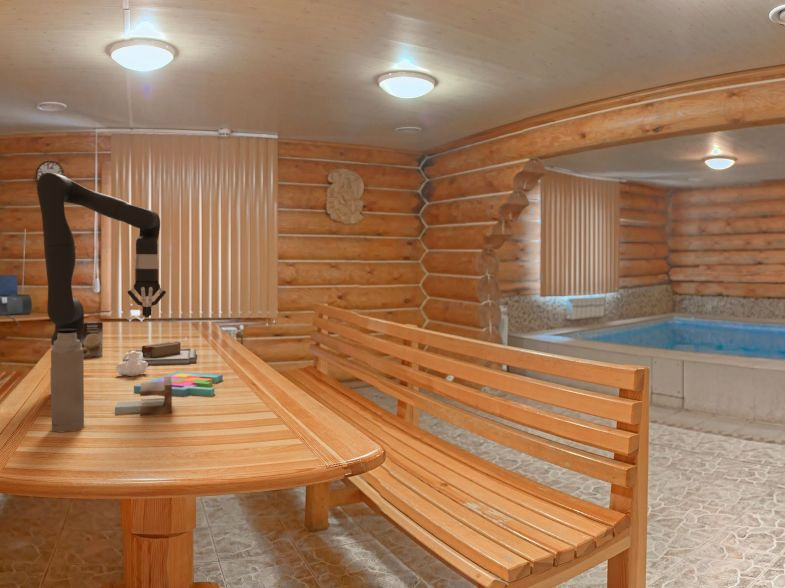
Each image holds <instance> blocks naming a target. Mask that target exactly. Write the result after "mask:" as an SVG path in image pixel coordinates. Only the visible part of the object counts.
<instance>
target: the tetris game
mask: <svg viewBox="0 0 785 588" xmlns="http://www.w3.org/2000/svg"><path fill="white" fill-rule="evenodd" d="M164 377H171V382H172V396H175V397H176V396H177V397H185V396H188V395H189V394H191V395H192V396H203V397H204V396H205V397H212V396H214V395H215V387H212V385H213V384H216V382H217V383H219V381H220V382H222V381H224V380H223V374H216V373H205V372H204V373H203V372H202V373H201V372H199V373H198V372H191V371H190V372H189V371H176V372H171V373H169V374H165V375H163V376H160V377H157V378H154V379H151V380H148V381H144V382H143V383H149V382H164ZM221 380H222V381H221ZM140 390H141V383H139V384H136V385H133V393H137V394H138V393H139V394H140ZM191 395H190V396H191Z"/></svg>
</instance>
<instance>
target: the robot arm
mask: <svg viewBox="0 0 785 588" xmlns="http://www.w3.org/2000/svg"><path fill="white" fill-rule="evenodd" d="M36 192H37V198H38V202H39V207H40V213H41V220H42V223H41V224H42V233H43V234H42V235H43V248H44V258H45V259H44V260H45V271H46V278H47V279H46V280H47V309H46V310H47V316H48V318H49V320H50V321H51V322H52V323H53V324H54V326H55V327H54V332H53V334H52V336H51V339H50V344H51V345H50V351H51V350H52V349H54V346H53V345H54V341H56V340H57V335H58V333H57V330H59V329H77V332H76V334H77V339H78V340H80V341H81V348H82V336H83V330H84V322H85V310H84V306H83V304H82V302H81V301H80V299H79V300H78V299H77V298H76V297H73V290H72V282H73V276H74V271H75V266H76V259H77V258H76V257H77V256H76V255H77V253H76V244H75V239H74V235H73V232H72V230H71V228H70V225H69V223H68V219H67V217H66V213H65V203H67V204H73V205H78V206H81V207H85V208H87V209H89V210H91V211H93V212H96V213H98V214H100V215H101V216H105V217H107V218H111V219H112V220H116V221H119V222H123V223H126V224H127V225H130V226H132V227H134V228H136V229H139V234H138V235H139V236H138V237H137V238H136V241H135V258H134V272H135V273H134V284H133V287H132V288H131V289H128V290H127V294H128V295H129V297H131V299H132V301H134V302H135V303H136V304H137V305H138V306H141V307H142V316H143V317H144V318H146V319H147V318H150V317H151V316H152V306H156V305H157V304H158V303H159V302H160V301H161V299H162V298H164V296H165V294H167V292H166V291H167V290H165V289H163V288H162V287H161V285H160V283H159V280H160V279H159V275H160V274H159V273H160V272H159V270H160V269H159V268H160V265H159V257H158V256H159V254H158V253H159V251H158V250H159V247H158V245H159V243H158V240H159V235H160V230H161V218H160V216H159V214H158V213H157V212H156V211H154V210H151V209H147V208H144V207H140V206H137V205H134V204H131V203H130V202H127V201H125V200H123V199H120V198H117V197H115V196H111V195H107V194H105V193H101V192H98V191H95V190H92V189H89V188H87V187H85V186H83V185H81V184H79V183H77V182H75V181H73V180H71V179H70V178H68V176H65V175H62V174H58V173H53V172H46V173H43V174H42V175H40V176H39V178H38V180H37V182H36ZM136 293H137V294H138V295H139V296H140V297H141V299H139V298H138V297H137V296H136ZM157 293H158V296H157V297H156V298H155V299H154V300H153V297H154V296H155V295H156V294H157ZM49 369H50V373H49V374H50V375H49V376H50V386H51V367H50V368H49Z"/></svg>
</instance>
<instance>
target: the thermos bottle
mask: <svg viewBox="0 0 785 588" xmlns="http://www.w3.org/2000/svg"><path fill="white" fill-rule="evenodd" d="M76 332H77V329H59V330H57V333H58V335H57V340H56V341H54V345H53V346H54V349H52V350H51V349H50V368H51V385H50V396H51V398H50V399H51V406H50V407H51V431H52V430H54V431H53V432H55V431H70V432H74V431H75V430H76V431H80V430H82V429H83V428H84V427H85V404H84V403H85V392H84V390H85V387H84V384H85V382H84V373H85V371H84V367H85V365H84V362H85V361H84V357H83V348H81V341H80V340H78V339H77V334H76ZM76 431H75V432H76Z"/></svg>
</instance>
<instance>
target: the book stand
mask: <svg viewBox="0 0 785 588" xmlns="http://www.w3.org/2000/svg"><path fill="white" fill-rule="evenodd" d="M131 351H136V352H141V354H140V355H139V359H138V358H137V360H138V361H139V360H141V361H146V362H147V363H148V366H173V365H175V366H177V365H179V366H180V365H190V364H196V360H197V359H196V358H197V356H196V355H197V348H191V347H189V348H185V347H184V348H181V342H179V341H174V342H161V343H153V344H147V345H142V347H141V349H140V348H139V349H134V350H132V349H131V350H128V352H127V353H130V352H131ZM128 358H129V357H128V355H126V354H125V356H124V357H123V359H122V362H127V361H128V360H129V359H128Z"/></svg>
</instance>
